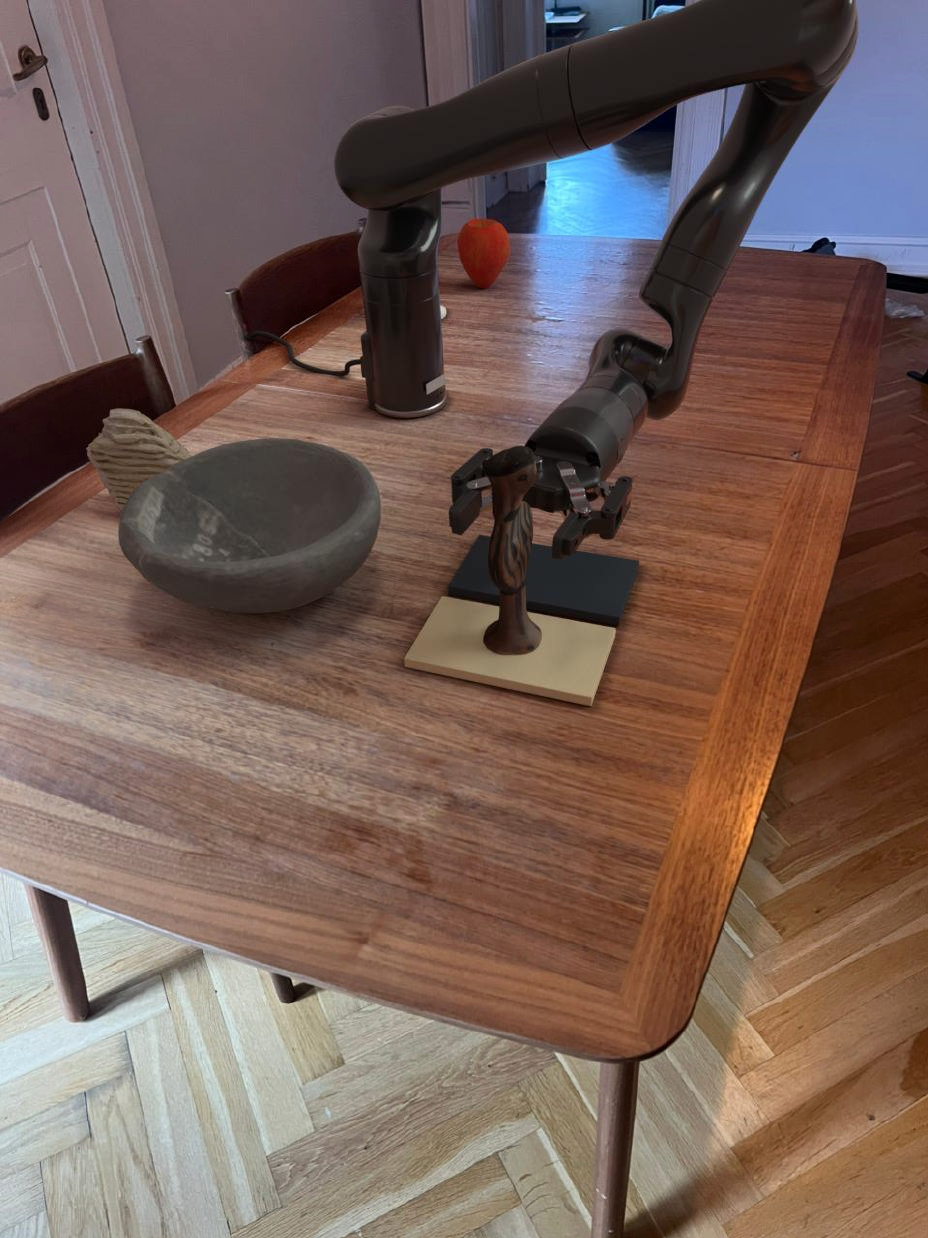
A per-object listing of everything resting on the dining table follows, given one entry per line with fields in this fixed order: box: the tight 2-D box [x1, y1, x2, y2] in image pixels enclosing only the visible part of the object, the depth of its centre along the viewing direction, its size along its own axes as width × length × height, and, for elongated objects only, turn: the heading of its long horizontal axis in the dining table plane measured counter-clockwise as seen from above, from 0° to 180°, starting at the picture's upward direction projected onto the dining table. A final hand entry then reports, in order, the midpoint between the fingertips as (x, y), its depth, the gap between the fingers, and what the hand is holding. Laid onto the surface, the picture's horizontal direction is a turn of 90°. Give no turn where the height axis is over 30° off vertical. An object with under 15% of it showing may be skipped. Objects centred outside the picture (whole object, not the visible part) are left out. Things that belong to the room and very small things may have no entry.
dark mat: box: [447, 534, 640, 627], centre depth 83 cm, size 16×9×1 cm, turn 70°
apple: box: [456, 217, 511, 290], centre depth 145 cm, size 9×8×11 cm
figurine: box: [483, 445, 542, 655], centre depth 69 cm, size 7×5×18 cm
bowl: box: [117, 437, 382, 614], centre depth 82 cm, size 23×22×10 cm
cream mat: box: [403, 595, 617, 707], centre depth 75 cm, size 16×9×1 cm, turn 70°
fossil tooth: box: [85, 407, 193, 511], centre depth 93 cm, size 12×6×15 cm
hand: (504, 537), depth 68 cm, fingers open, 8 cm apart
